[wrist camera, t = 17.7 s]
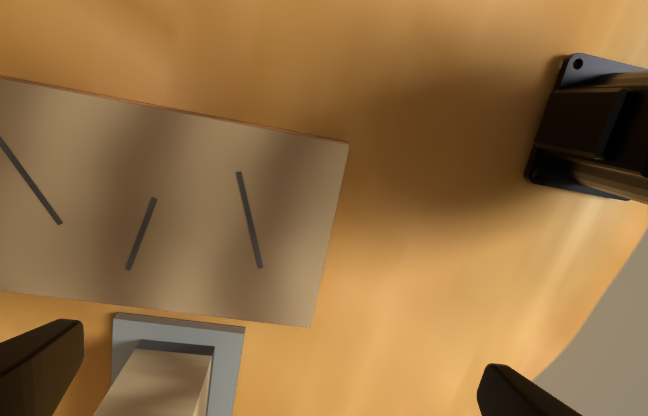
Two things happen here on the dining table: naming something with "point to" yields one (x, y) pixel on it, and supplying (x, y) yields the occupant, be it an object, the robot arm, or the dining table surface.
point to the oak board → (162, 206)
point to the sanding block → (162, 381)
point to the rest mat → (190, 332)
